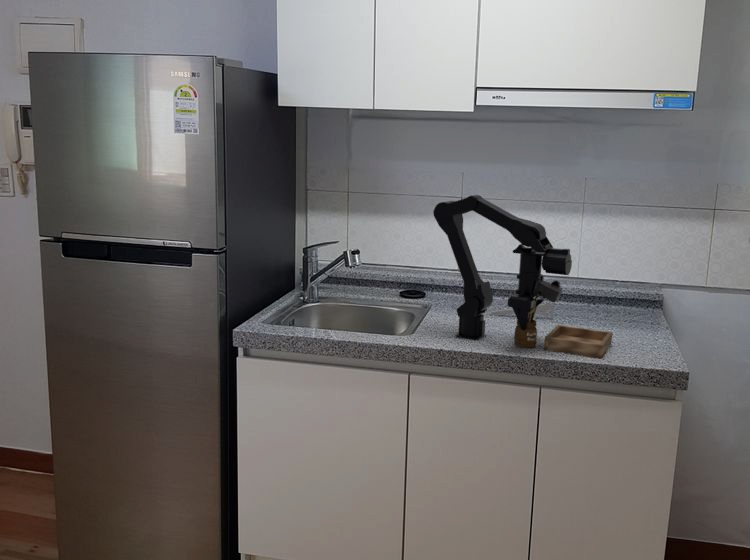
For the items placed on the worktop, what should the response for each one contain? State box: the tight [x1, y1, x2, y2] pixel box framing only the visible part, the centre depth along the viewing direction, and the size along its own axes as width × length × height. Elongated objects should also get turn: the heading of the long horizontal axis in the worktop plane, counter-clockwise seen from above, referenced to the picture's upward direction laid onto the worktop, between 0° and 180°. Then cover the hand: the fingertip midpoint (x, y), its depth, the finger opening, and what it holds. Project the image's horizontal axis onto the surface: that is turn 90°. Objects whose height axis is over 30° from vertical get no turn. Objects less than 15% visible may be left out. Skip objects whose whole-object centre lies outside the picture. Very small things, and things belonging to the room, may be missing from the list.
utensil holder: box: [513, 301, 538, 349], centre depth 197 cm, size 6×6×12 cm
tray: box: [543, 324, 613, 359], centre depth 198 cm, size 15×15×4 cm
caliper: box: [487, 300, 555, 320], centre depth 230 cm, size 20×1×6 cm, turn 79°
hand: (526, 327), depth 197 cm, fingers closed on utensil holder, 5 cm apart
